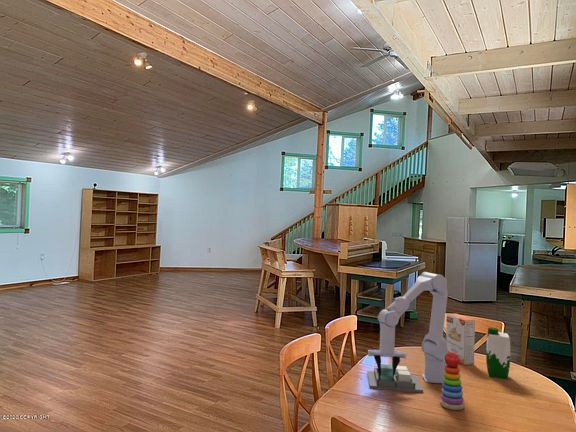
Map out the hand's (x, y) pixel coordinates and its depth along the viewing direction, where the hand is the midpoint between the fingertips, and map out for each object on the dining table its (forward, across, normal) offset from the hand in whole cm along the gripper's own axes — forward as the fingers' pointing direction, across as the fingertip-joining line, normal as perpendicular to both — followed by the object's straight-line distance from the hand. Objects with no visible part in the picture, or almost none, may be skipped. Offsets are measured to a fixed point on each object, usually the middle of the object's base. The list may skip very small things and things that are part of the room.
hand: (386, 375), depth 164 cm
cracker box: (+4, +38, +39) cm, 55 cm away
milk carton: (+4, +49, +21) cm, 54 cm away
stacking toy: (+4, +21, -15) cm, 26 cm away
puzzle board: (+4, +3, +3) cm, 6 cm away
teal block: (+2, 0, 0) cm, 2 cm away
